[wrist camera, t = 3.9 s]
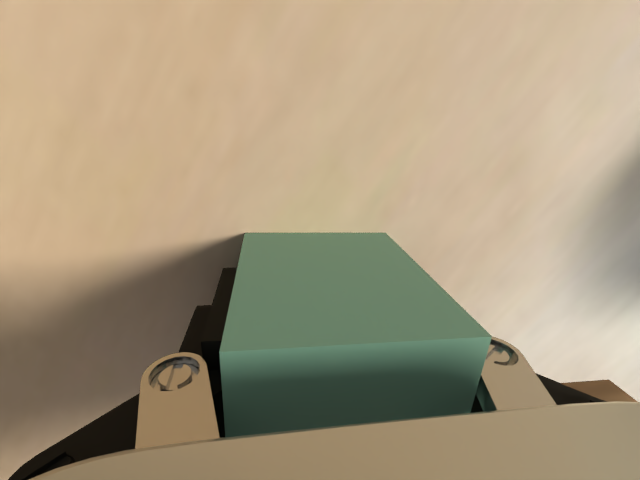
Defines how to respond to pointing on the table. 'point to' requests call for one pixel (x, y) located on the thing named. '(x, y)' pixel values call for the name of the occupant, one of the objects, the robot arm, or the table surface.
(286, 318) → the stack block
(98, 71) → the table surface
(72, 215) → the table surface
